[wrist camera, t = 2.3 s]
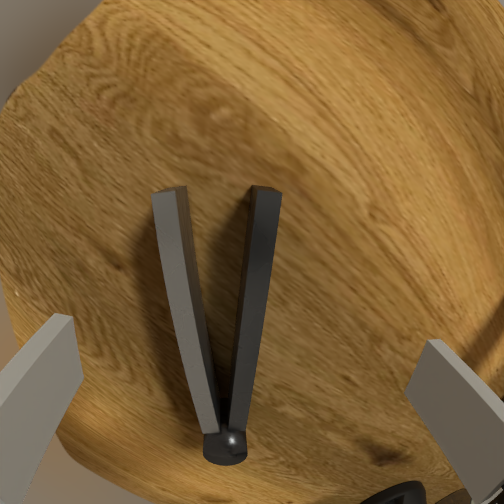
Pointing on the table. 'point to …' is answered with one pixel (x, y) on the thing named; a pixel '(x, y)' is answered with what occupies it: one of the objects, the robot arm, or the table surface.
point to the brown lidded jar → (457, 498)
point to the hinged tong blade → (187, 301)
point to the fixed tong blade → (247, 328)
